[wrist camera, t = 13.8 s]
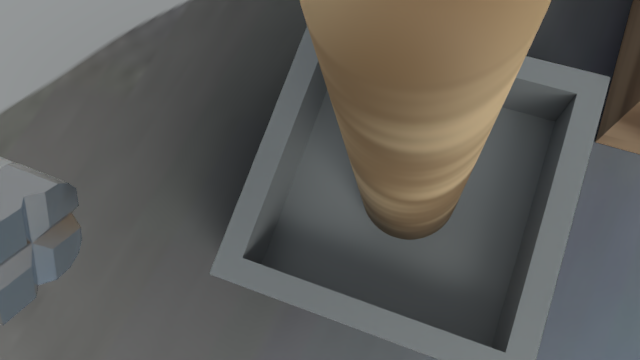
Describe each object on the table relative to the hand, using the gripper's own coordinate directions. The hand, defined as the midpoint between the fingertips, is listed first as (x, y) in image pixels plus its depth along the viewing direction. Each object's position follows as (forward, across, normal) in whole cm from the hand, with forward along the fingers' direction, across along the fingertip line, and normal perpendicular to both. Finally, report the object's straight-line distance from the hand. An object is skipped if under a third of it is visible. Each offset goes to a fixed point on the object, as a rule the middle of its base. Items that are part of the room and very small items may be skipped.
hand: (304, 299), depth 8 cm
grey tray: (+15, 0, +8) cm, 17 cm away
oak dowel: (+15, 0, +7) cm, 16 cm away
